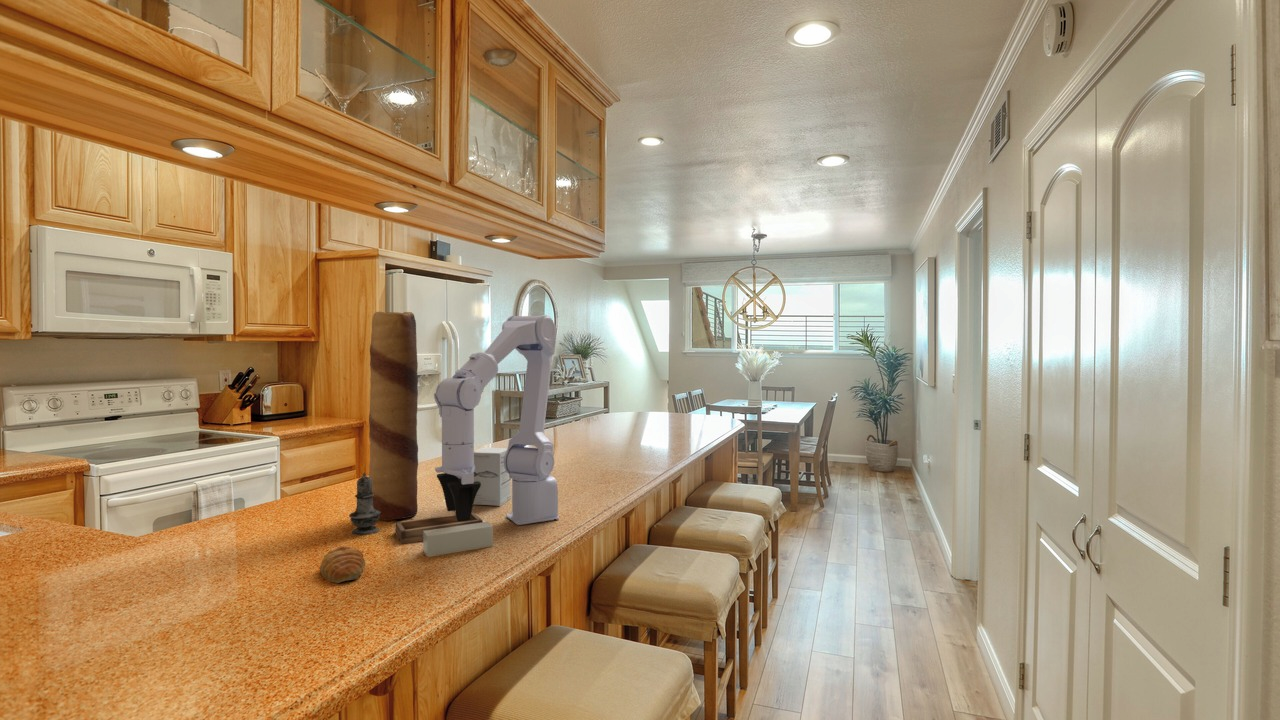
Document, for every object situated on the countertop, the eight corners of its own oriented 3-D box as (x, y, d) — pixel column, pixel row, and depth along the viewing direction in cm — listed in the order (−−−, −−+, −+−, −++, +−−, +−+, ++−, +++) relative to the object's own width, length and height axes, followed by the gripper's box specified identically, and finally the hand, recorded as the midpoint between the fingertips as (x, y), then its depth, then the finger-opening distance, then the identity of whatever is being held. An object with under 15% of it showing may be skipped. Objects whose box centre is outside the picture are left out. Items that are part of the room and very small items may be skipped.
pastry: (370, 580, 102) (370, 557, 102) (324, 589, 99) (323, 565, 98) (361, 563, 110) (360, 541, 110) (318, 571, 106) (317, 548, 106)
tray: (472, 521, 134) (472, 511, 134) (483, 531, 128) (483, 520, 127) (395, 532, 127) (395, 521, 127) (401, 543, 120) (401, 532, 120)
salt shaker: (386, 527, 130) (385, 469, 130) (371, 536, 124) (370, 475, 124) (359, 526, 131) (358, 469, 130) (343, 535, 125) (342, 475, 125)
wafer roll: (426, 509, 144) (424, 312, 143) (409, 522, 134) (407, 310, 132) (380, 509, 144) (378, 312, 143) (360, 522, 134) (358, 310, 132)
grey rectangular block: (487, 542, 122) (487, 521, 122) (493, 547, 119) (493, 526, 119) (423, 552, 116) (423, 530, 116) (427, 558, 113) (427, 536, 113)
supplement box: (470, 505, 148) (470, 451, 147) (483, 497, 155) (483, 446, 155) (500, 506, 146) (500, 452, 146) (512, 498, 154) (511, 447, 153)
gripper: (427, 438, 121) (428, 508, 121) (444, 450, 108) (445, 528, 109) (464, 436, 124) (465, 504, 125) (485, 446, 112) (485, 522, 112)
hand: (458, 515), depth 117 cm, fingers open, 7 cm apart
